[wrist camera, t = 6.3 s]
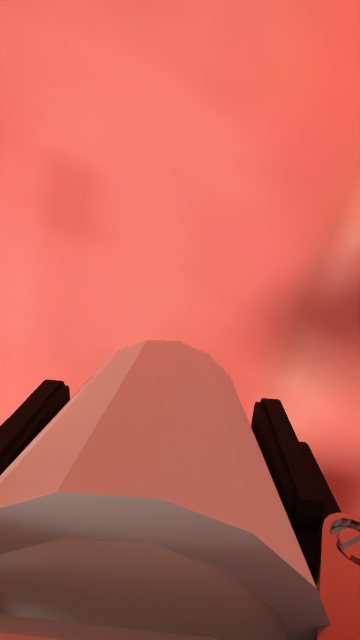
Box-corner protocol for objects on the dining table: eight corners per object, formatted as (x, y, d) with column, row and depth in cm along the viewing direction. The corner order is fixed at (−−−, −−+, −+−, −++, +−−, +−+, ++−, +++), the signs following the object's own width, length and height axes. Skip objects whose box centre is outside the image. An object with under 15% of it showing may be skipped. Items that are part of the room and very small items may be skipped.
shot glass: (63, 463, 13) (-87, 738, 6) (82, 302, 10) (-118, 449, 4) (229, 499, 13) (265, 807, 6) (282, 346, 11) (426, 563, 4)
